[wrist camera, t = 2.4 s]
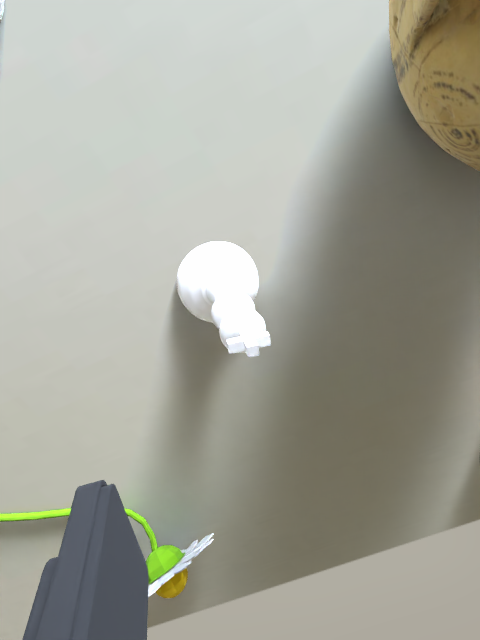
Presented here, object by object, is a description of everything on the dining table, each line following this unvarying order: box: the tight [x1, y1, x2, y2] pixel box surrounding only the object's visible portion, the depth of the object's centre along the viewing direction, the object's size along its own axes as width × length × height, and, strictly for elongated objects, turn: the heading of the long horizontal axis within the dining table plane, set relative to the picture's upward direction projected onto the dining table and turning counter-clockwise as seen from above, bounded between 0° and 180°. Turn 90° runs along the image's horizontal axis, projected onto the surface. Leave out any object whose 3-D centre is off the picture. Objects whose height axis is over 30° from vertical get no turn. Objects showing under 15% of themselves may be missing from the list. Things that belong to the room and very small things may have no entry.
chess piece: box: [177, 242, 271, 357], centre depth 20 cm, size 5×5×10 cm
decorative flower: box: [0, 508, 213, 598], centre depth 28 cm, size 8×6×15 cm
